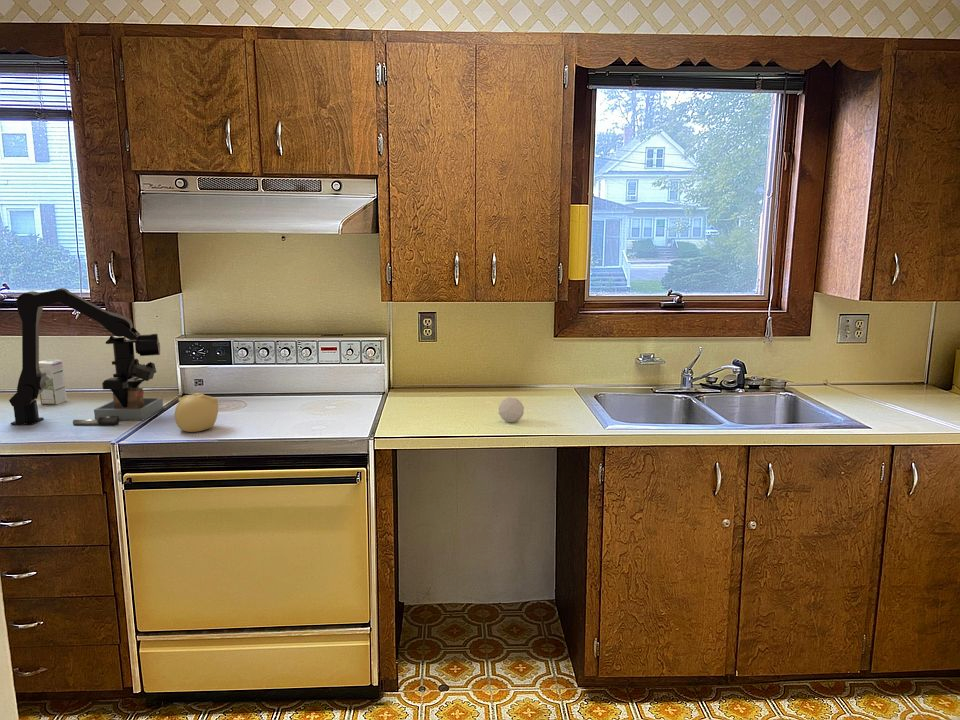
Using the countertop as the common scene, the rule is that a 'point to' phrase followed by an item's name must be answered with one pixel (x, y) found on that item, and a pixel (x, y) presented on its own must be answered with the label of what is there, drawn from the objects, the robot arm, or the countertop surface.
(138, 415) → the tray
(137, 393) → the block
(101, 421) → the pin gauge
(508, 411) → the ball
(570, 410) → the countertop surface
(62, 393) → the syrup box
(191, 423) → the sculpture
